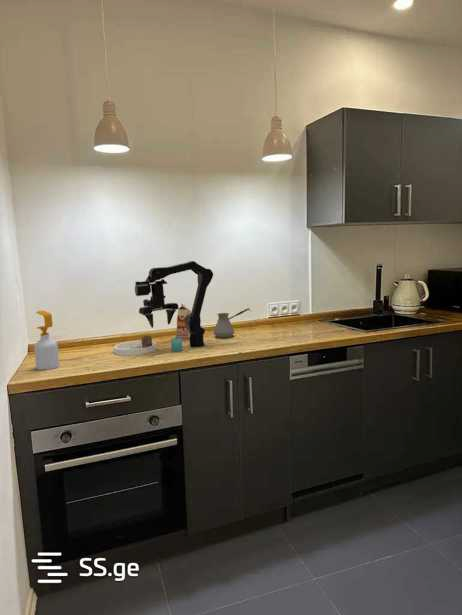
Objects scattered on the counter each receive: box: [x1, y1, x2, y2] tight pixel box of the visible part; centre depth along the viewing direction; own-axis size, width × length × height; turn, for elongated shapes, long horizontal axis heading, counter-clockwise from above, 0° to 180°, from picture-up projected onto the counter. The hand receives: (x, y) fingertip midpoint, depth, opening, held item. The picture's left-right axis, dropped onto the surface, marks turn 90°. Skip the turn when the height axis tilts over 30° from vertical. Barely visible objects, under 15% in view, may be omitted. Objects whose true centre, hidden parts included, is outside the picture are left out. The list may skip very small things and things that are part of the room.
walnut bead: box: [140, 335, 153, 348], centre depth 198 cm, size 5×5×6 cm
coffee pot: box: [213, 307, 251, 339], centre depth 223 cm, size 21×12×15 cm, turn 103°
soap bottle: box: [33, 310, 60, 371], centre depth 173 cm, size 9×9×25 cm
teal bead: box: [170, 337, 183, 353], centre depth 194 cm, size 5×5×6 cm
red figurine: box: [174, 303, 191, 342], centre depth 219 cm, size 9×9×20 cm
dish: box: [113, 340, 158, 357], centre depth 199 cm, size 20×20×3 cm
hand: (160, 326), depth 195 cm, fingers open, 9 cm apart
